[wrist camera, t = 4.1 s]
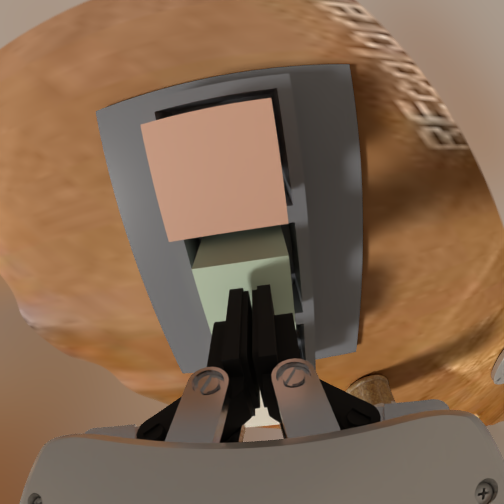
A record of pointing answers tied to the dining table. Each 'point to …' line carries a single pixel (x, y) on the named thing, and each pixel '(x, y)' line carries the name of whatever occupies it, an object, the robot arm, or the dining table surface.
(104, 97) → the dining table surface
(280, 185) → the terracotta button
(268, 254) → the green button
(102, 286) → the dining table surface
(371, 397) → the sprinkles bottle
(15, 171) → the dining table surface
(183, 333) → the button panel
